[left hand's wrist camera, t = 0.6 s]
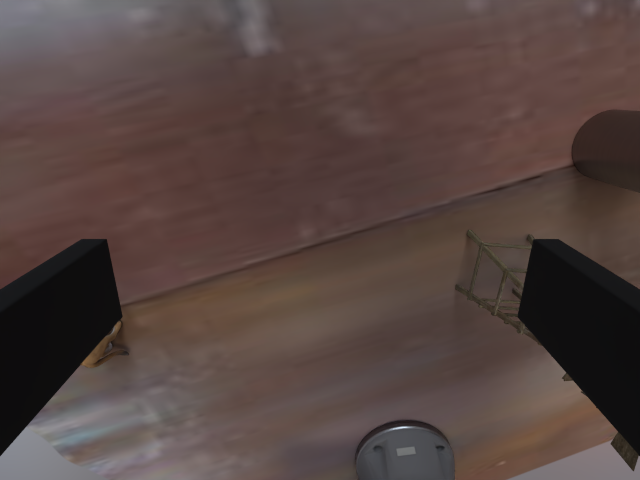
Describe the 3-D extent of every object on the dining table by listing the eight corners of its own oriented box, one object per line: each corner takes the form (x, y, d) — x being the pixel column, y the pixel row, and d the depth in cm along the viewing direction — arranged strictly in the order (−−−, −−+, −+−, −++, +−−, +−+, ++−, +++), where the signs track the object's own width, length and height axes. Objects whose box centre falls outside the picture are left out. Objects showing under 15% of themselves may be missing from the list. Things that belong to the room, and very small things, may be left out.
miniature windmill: (535, 234, 50) (815, 420, 22) (518, 293, 53) (745, 524, 24) (464, 229, 49) (654, 409, 21) (451, 289, 52) (602, 517, 24)
